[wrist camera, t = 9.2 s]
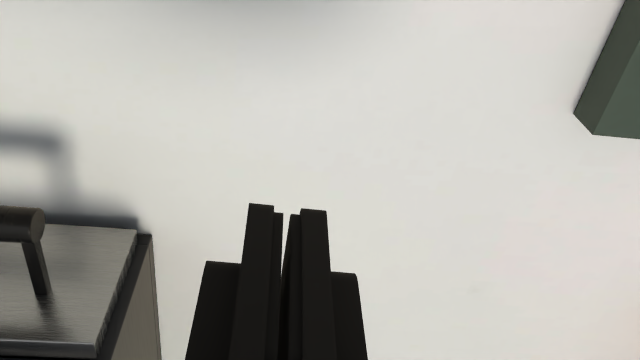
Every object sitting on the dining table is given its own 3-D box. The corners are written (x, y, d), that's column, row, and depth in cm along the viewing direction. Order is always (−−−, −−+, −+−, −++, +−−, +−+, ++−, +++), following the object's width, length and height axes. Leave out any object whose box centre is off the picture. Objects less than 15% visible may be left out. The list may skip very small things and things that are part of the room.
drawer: (-112, 136, 26) (-246, 245, 19) (129, 156, 27) (78, 264, 21) (-20, 364, 36) (-87, 483, 30) (150, 371, 38) (121, 486, 31)
